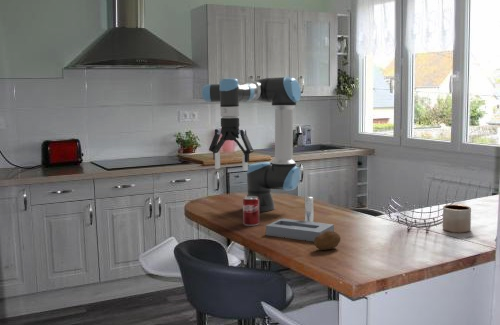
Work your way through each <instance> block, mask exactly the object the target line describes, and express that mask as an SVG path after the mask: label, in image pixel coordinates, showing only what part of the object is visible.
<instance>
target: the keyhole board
mask: <svg viewBox="0 0 500 325" xmlns="http://www.w3.org/2000/svg"><path fill="white" fill-rule="evenodd" d="M325 231H334V232H335V224H334V223H333V224H332V223H323V222H315V221H313V222H309V221H305V220H299V219H292V218H291V219H290V218H280V219H277V220H275V221H274V222H271V223H268V224H266V225H265V236H268V237H269V236H270V237H278V238H284V237H285V238H286V239H292V240H301V241H305V240H306V242H313V243H314V239H315V237H317V236H318V235H320V234H321V233H323V232H325ZM285 238H284V239H285Z"/></svg>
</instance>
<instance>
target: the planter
mask: <svg viewBox="0 0 500 325" xmlns="http://www.w3.org/2000/svg"><path fill="white" fill-rule="evenodd" d="M471 220H472V207H471V206H467V205H463V204H446V205H443V208H442V229H443V230H444V231H446V232H448V233H452V234H453V233H454V234H456V233H457V234H464V233H469V232H471V229H472V228H471V227H472V226H471V225H472V221H471Z"/></svg>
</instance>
